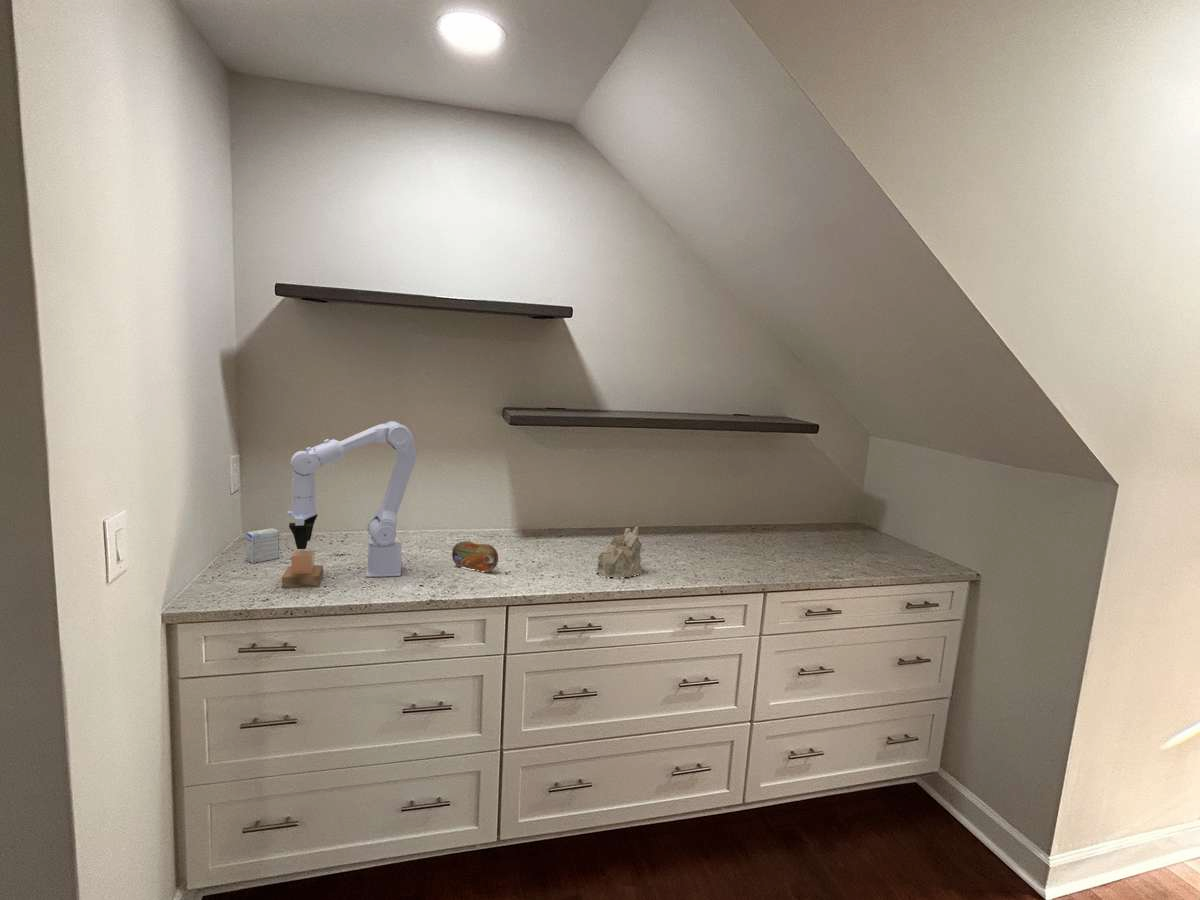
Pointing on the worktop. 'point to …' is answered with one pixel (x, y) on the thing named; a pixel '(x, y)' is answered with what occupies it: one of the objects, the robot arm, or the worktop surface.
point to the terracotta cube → (302, 562)
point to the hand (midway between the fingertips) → (303, 544)
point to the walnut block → (302, 578)
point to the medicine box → (262, 545)
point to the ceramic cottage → (621, 556)
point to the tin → (475, 556)
